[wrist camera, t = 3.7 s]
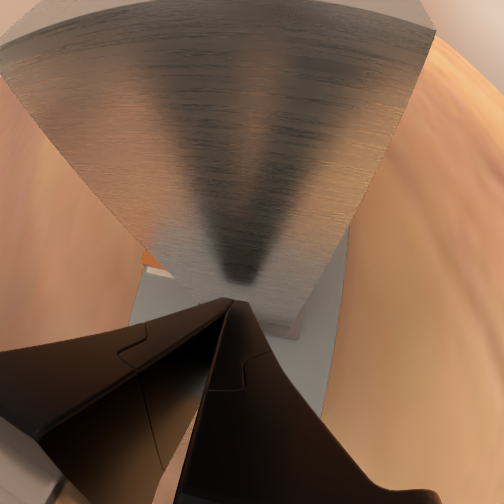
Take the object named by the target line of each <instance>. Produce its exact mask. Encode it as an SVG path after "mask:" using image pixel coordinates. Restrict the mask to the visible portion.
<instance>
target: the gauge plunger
mask: <svg viewBox="0 0 504 504" xmlns="http://www.w3.org/2000/svg"><path fill="white" fill-rule="evenodd" d="M435 34H436V29H435V27H434V25H433V23H432V22H431V20H430V18H429V16H428V14H427V13H426V11H425V9H424V8H423V6H422V4H421V2H420V1H419V0H42V1H40V2H39V3H38V4H37V5H35V6H34V7H33V8H32V9H31V10H30V11H28V12H27V13H26V14H25V15H24V16H23V17H22V18H21V19H19V20H18V21H17V22H16V23H15V24H14V25H13V26H12V27H11V28H10V29H9V30H8V31H7V32H6V33H4V34H3V35H2V36H1V37H0V74H1V76H2V77H3V79H4V80H5V81H6V83H7V84H8V86H9V87H10V88H11V90H12V91H13V93H14V94H15V95H16V97H17V98H18V99H19V101H20V102H21V104H22V105H23V106H24V108H25V109H26V110H27V112H28V113H29V114H30V115H31V117H32V118H33V119H34V121H35V122H36V123H37V125H38V126H39V127H40V128H41V130H42V131H43V132H44V134H45V135H46V136H47V137H48V139H49V140H50V141H51V142H52V144H53V145H54V146H55V147H56V148H57V150H58V151H59V152H60V153H61V155H62V156H63V157H64V158H65V159H66V161H67V162H68V163H69V164H70V165H71V167H72V168H73V169H74V170H75V171H76V173H77V174H78V175H79V176H80V177H81V178H82V180H83V181H84V182H85V183H86V184H87V185H88V187H89V188H90V189H91V190H92V191H93V192H94V193H95V195H96V196H97V197H98V198H99V199H100V200H101V201H102V202H103V204H104V205H105V206H106V207H107V208H108V209H109V210H110V211H111V212H112V214H113V215H114V216H115V217H116V218H117V219H118V220H119V221H120V222H121V223H122V224H123V226H124V227H125V228H126V229H127V230H128V231H129V232H130V233H131V234H132V235H133V236H134V237H135V238H136V239H137V240H138V242H139V243H140V244H141V245H142V246H143V247H144V248H145V249H146V250H147V251H148V252H149V253H146V252H144V255H143V258H142V261H141V263H142V264H143V265H144V266H147V267H152V268H156V269H161V270H166V271H168V272H169V273H170V274H171V275H172V276H173V277H174V278H175V279H176V280H177V281H178V282H179V283H180V284H181V285H182V286H183V287H184V288H185V289H186V290H187V291H188V292H189V293H190V294H191V295H192V296H193V297H194V298H195V299H196V300H197V301H198V302H199V304H198V305H200V304H203V303H206V302H209V301H212V300H215V299H218V298H221V297H226V298H231V299H234V300H235V301H236V300H241V301H247V302H249V304H250V306H251V308H252V310H253V312H254V314H255V316H256V318H257V320H258V322H259V324H260V326H261V329H262V331H263V333H264V335H268V336H273V337H278V338H284V339H290V340H296V341H297V340H298V339H299V336H300V331H301V325H302V319H303V314H304V308H305V302H306V300H307V298H308V297H309V295H310V293H311V291H312V290H313V288H314V286H315V285H316V283H317V281H318V279H319V278H320V276H321V274H322V272H323V271H324V269H325V267H326V265H327V264H328V262H329V260H330V258H331V256H332V255H333V253H334V251H335V249H336V247H337V246H338V244H339V242H340V240H341V238H342V236H343V235H344V233H345V231H346V229H347V227H348V225H349V223H350V222H351V220H352V218H353V216H354V214H355V212H356V210H357V208H358V206H359V204H360V202H361V200H362V199H363V197H364V195H365V193H366V191H367V189H368V187H369V185H370V183H371V181H372V179H373V177H374V175H375V173H376V171H377V169H378V166H379V164H380V162H381V160H382V158H383V156H384V154H385V152H386V150H387V148H388V146H389V143H390V141H391V139H392V137H393V135H394V133H395V130H396V128H397V126H398V124H399V122H400V119H401V117H402V115H403V113H404V110H405V108H406V106H407V103H408V101H409V99H410V97H411V94H412V92H413V89H414V87H415V85H416V82H417V80H418V77H419V75H420V72H421V70H422V68H423V65H424V63H425V60H426V57H427V55H428V52H429V50H430V47H431V44H432V42H433V39H434V36H435Z"/></svg>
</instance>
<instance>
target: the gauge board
mask: <svg viewBox="0 0 504 504" xmlns="http://www.w3.org/2000/svg"><path fill="white" fill-rule="evenodd" d="M348 234H349V225H348V227H347V229H346V231H345V233H344V235H343V236H342V238H341V240H340V242H339V244H338V246H337V247H336V249H335V251H334V253H333V255H332V256H331V258H330V260H329V262H328V264H327V265H326V267H325V269H324V271H323V272H322V274H321V276H320V278H319V279H318V281H317V283H316V285H315V286H314V288H313V290H312V291H311V293H310V295H309V297H308V298H307V300H306V302H305V308H304V314H303V319H302V325H301V331H300V336H299V339H298V340H297V341H296V340H290V339H284V338H278V337H273V336H268V335H265V337H266V339H267V341H268V343H269V345H270V347H271V349H272V351H273V353H274V354H275V356H276V358H277V360H278V362H279V364H280V366H281V367H282V369H283V371H284V372H285V374H286V375H287V376H288V378H289V379H290V381H291V382H292V383H293V385H294V386H295V387H296V389H297V390H298V391H299V393H300V394H301V395H302V396H303V398H304V399H305V400H306V402H307V403H308V404H309V405H310V407H311V408H312V409H313V411H314V412H315V413H316V414H317V416H318V417H319V418H320V417H321V413H322V408H323V404H324V399H325V394H326V389H327V384H328V379H329V373H330V368H331V363H332V357H333V351H334V345H335V339H336V333H337V326H338V320H339V313H340V305H341V298H342V290H343V282H344V274H345V265H346V255H347V245H348ZM198 304H199V302H198V301H197V300H196V299H195V298H194V297H193V296H192V295H191V294H190V293H189V292H188V291H187V290H186V289H185V288H184V287H183V286H182V285H181V284H180V283H179V282H178V281H177V280H176V279H175V278H174V277H173V276H172V275H171V274H170V273H169V272H168V271H166V270H161V269H156V268H152V267H147V266H145V267H144V270H143V274H142V277H141V280H140V284H139V287H138V291H137V295H136V298H135V302H134V306H133V309H132V313H131V317H130V321H129V325H128V326H132V325H135V324H138V323H141V322H143V323H144V322H146V321H149V320H153V319H156V318H159V317H162V316H165V315H169V314H172V313H175V312H178V311H181V310H184V309H187V308H190V307H193V306H197V305H198ZM198 408H199V407H198Z"/></svg>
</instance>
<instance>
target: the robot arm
mask: <svg viewBox="0 0 504 504" xmlns="http://www.w3.org/2000/svg"><path fill="white" fill-rule="evenodd" d="M198 407H199V409H198ZM197 409H198V413H197V416H196V420H195V424H194V427H193V431H192V434H191V438H190V442H189V445H188V449H187V453H186V457H185V460H184V464H183V468H182V471H181V475H180V479H179V483H178V486H177V490H176V494H175V498H174V501H173V504H442V503H441V500H440V498H439V496H438V494H437V493H436V492H434V491H432V490H428V489H411V490H388V489H384V488H382V487H380V486H378V485H376V484H374V483H373V482H372V481H371V480H370V479H369V478H368V477H367V476H366V474H365V473H364V472H363V471H362V470H361V468H360V467H359V466H358V465H357V464H356V462H355V461H354V460H353V459H352V458H351V456H350V455H349V454H348V453H347V452H346V450H345V449H344V448H343V447H342V445H341V444H340V443H339V442H338V441H337V439H336V438H335V437H334V436H333V434H332V433H331V432H330V431H329V429H328V428H327V427H326V426H325V424H324V423H323V422H322V421H321V419H320V418H319V417H318V416H317V414H316V413H315V412H314V411H313V409H312V408H311V407H310V405H309V404H308V403H307V402H306V400H305V399H304V398H303V396H302V395H301V394H300V393H299V391H298V390H297V389H296V387H295V386H294V385H293V383H292V382H291V381H290V379H289V378H288V376H287V375H286V374H285V372H284V371H283V369H282V367H281V366H280V364H279V362H278V360H277V358H276V356H275V354H274V353H273V351H272V349H271V347H270V345H269V343H268V341H267V339H266V337H265V335H264V333H263V331H262V329H261V326H260V324H259V322H258V320H257V318H256V316H255V314H254V312H253V310H252V308H251V306H250V304H249V302H247V301H241V300H236V301H235V300H234V299H231V298H226V297H221V298H218V299H215V300H212V301H209V302H206V303H203V304H200V305H197V306H193V307H190V308H187V309H184V310H181V311H178V312H175V313H172V314H169V315H165V316H162V317H159V318H156V319H153V320H149V321H146V322H144V323H143V322H141V323H138V324H135V325H132V326H128V327H125V328H121V329H117V330H113V331H109V332H104V333H100V334H95V335H90V336H85V337H80V338H75V339H70V340H65V341H59V342H54V343H49V344H43V345H38V346H32V347H26V348H21V349H15V350H9V351H3V352H0V504H152V502H153V499H154V496H155V492H156V489H157V486H158V484H159V482H160V480H161V477H162V475H163V472H165V470H166V468H167V466H168V464H169V462H170V460H171V459H172V457H173V455H174V453H175V451H176V449H177V447H178V445H179V443H180V442H181V440H182V438H183V436H184V434H185V432H186V430H187V428H188V426H189V424H190V423H191V421H192V419H193V417H194V415H195V413H196V411H197Z"/></svg>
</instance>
